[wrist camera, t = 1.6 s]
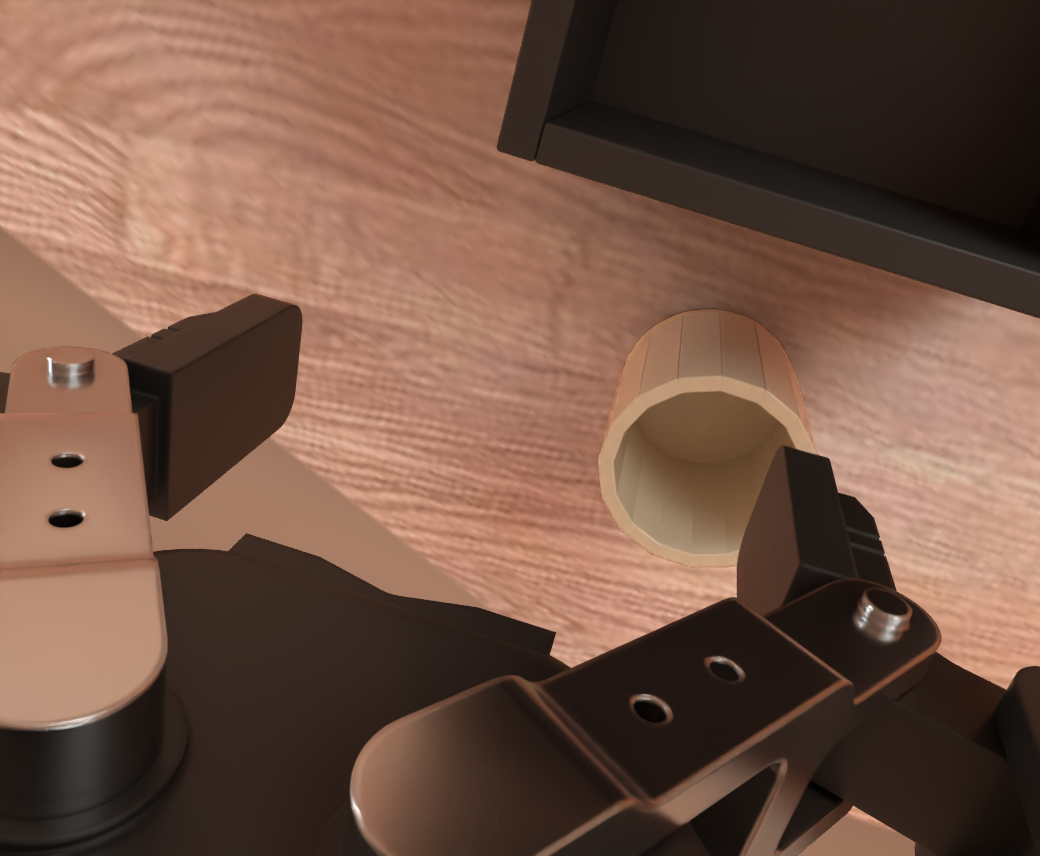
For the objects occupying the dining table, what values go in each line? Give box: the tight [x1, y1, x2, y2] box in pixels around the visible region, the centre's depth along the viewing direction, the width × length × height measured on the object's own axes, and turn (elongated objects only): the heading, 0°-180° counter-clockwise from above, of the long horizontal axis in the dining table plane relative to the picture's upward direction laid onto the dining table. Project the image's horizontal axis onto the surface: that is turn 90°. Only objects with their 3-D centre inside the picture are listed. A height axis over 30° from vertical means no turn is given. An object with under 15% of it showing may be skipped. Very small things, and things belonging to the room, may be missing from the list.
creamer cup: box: [598, 309, 817, 567], centre depth 27 cm, size 6×6×6 cm
